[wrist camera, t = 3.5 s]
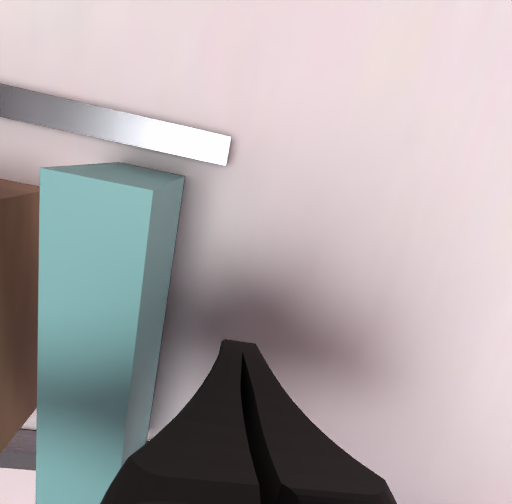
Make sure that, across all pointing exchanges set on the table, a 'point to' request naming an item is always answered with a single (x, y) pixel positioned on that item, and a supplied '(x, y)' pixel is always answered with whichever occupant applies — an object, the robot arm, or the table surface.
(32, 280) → the walnut block
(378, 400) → the table surface
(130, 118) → the vise
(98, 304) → the block
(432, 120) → the table surface
